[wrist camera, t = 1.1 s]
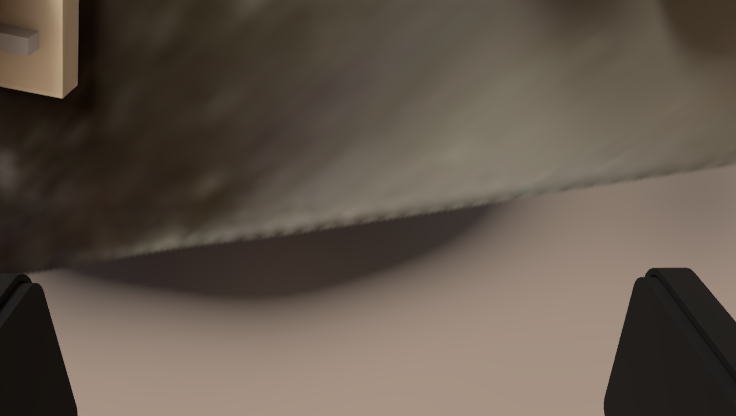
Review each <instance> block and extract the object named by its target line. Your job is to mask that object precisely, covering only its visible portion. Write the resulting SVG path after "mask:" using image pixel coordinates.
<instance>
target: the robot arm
mask: <svg viewBox="0 0 736 416" xmlns="http://www.w3.org/2000/svg"><path fill="white" fill-rule="evenodd" d="M604 413H605V416H736V322H735V320H734V319H733V318H732V317H731V316H730V314H729V313H728V312H727V311H726V310H725V309H724V307H723V306H722V305H721V304H720V303H719V301H718V300H717V299H716V298H715V297H714V295H713V294H712V293H711V292H710V291H709V289H708V288H707V287H706V286H705V285H704V283H703V282H702V281H701V280H700V279H699V277H698V276H697V275H696V274H695V273H694V272H693V271H692V270H691V269H689V268H652V269H650V270H649V271H648V272H647V273H646V275H645V277H640V278H638V279H637V280H636V281H635V284H634V287H633V291H632V295H631V298H630V302H629V306H628V310H627V314H626V318H625V322H624V326H623V329H622V333H621V337H620V341H619V345H618V348H617V352H616V356H615V360H614V364H613V367H612V371H611V375H610V379H609V383H608V387H607V390H606V395H605V399H604ZM0 416H77V406H76V403H75V399H74V396H73V393H72V389H71V385H70V382H69V378H68V375H67V371H66V368H65V365H64V361H63V357H62V354H61V350H60V347H59V343H58V340H57V336H56V333H55V330H54V326H53V323H52V319H51V316H50V312H49V309H48V305H47V302H46V298H45V295H44V291H43V289H42V287H41V286H40V285H39V284H38V283H32V282H31V279H30V278H29V277H28V276H27V275H25V274H0Z"/></svg>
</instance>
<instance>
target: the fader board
mask: <svg viewBox="0 0 736 416" xmlns="http://www.w3.org/2000/svg"><path fill="white" fill-rule="evenodd" d="M78 28H79V0H0V87H6V88H11V89H16V90H21V91H26V92H31V93H36V94H41V95H46V96H52V97H57V98H62V99H63V98H64V97H65V96H66V95H67V94H68V93H69V92H70V91H72V90H73V89H74V88H75V87H76V86H77V85H78Z"/></svg>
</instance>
